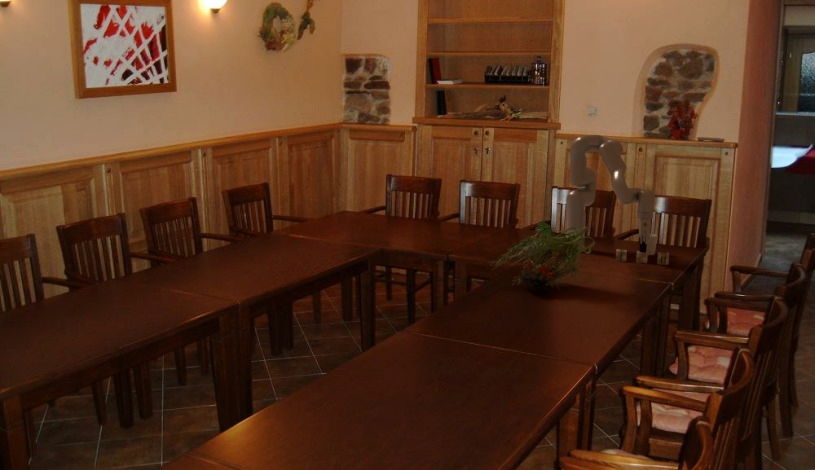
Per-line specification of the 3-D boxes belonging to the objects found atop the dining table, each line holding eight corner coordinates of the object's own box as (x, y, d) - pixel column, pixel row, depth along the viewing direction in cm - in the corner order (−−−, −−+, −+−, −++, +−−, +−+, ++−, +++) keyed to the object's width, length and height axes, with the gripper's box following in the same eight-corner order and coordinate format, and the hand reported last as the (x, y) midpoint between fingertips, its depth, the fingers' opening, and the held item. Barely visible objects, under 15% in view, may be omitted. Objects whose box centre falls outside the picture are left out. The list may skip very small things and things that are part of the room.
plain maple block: (636, 262, 418) (637, 252, 417) (636, 260, 422) (637, 250, 421) (646, 263, 416) (647, 253, 415) (646, 261, 421) (647, 251, 420)
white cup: (657, 255, 433) (659, 236, 431) (642, 255, 434) (643, 236, 432) (653, 252, 441) (655, 233, 439) (638, 252, 441) (639, 233, 439)
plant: (483, 264, 372) (542, 216, 390) (534, 326, 369) (591, 275, 387) (516, 237, 341) (578, 186, 359) (572, 305, 338) (632, 250, 356)
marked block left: (615, 261, 420) (616, 251, 419) (615, 258, 425) (616, 249, 424) (625, 261, 419) (626, 251, 418) (625, 259, 424) (626, 249, 423)
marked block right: (657, 264, 415) (658, 254, 414) (657, 262, 420) (658, 252, 419) (668, 265, 414) (669, 255, 413) (667, 262, 419) (668, 252, 418)
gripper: (653, 217, 407) (651, 255, 410) (652, 213, 421) (650, 249, 424) (637, 217, 409) (635, 254, 412) (637, 212, 423) (634, 248, 426)
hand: (642, 251), depth 418 cm, fingers closed
